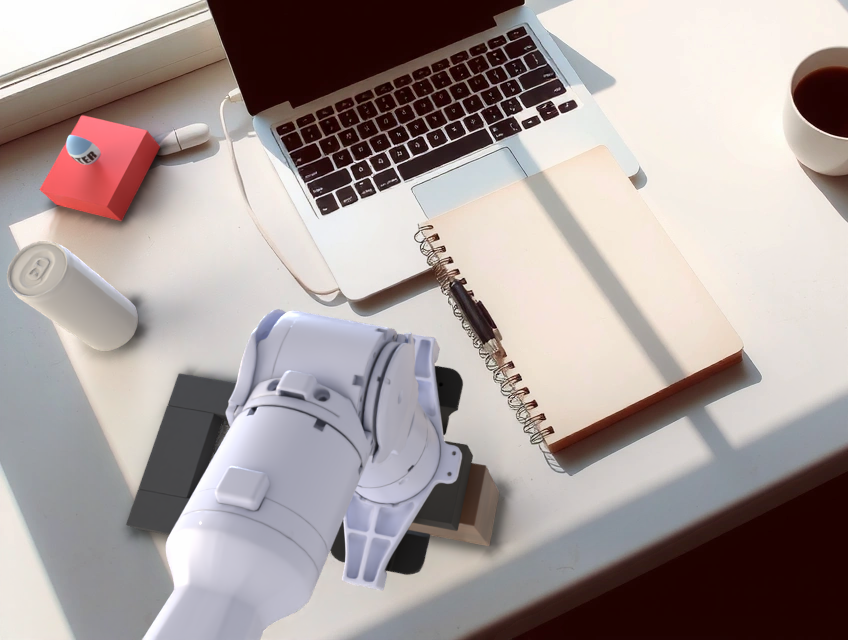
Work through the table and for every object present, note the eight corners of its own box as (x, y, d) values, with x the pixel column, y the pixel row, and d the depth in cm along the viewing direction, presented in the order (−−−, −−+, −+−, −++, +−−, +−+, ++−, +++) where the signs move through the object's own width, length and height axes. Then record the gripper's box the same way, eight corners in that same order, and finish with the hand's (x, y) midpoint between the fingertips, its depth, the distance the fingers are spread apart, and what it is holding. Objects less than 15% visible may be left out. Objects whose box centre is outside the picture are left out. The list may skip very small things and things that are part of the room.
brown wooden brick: (489, 546, 69) (474, 526, 60) (360, 522, 70) (327, 499, 62) (499, 492, 70) (486, 465, 62) (373, 469, 72) (343, 440, 63)
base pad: (259, 552, 70) (250, 549, 68) (137, 529, 71) (125, 524, 69) (303, 399, 75) (296, 392, 73) (188, 380, 76) (178, 372, 74)
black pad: (457, 531, 60) (451, 523, 57) (339, 509, 61) (328, 501, 58) (473, 455, 62) (467, 444, 59) (359, 435, 63) (348, 424, 60)
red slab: (121, 221, 83) (86, 186, 77) (56, 204, 84) (16, 169, 79) (160, 146, 86) (129, 108, 80) (96, 131, 87) (61, 92, 82)
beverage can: (75, 342, 78) (-9, 286, 67) (105, 292, 80) (28, 230, 69) (122, 361, 77) (45, 307, 66) (152, 310, 79) (81, 250, 68)
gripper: (415, 590, 46) (453, 611, 58) (475, 318, 52) (498, 389, 64) (280, 563, 47) (346, 589, 59) (354, 300, 53) (399, 373, 65)
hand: (418, 484), depth 62 cm, fingers open, 7 cm apart
